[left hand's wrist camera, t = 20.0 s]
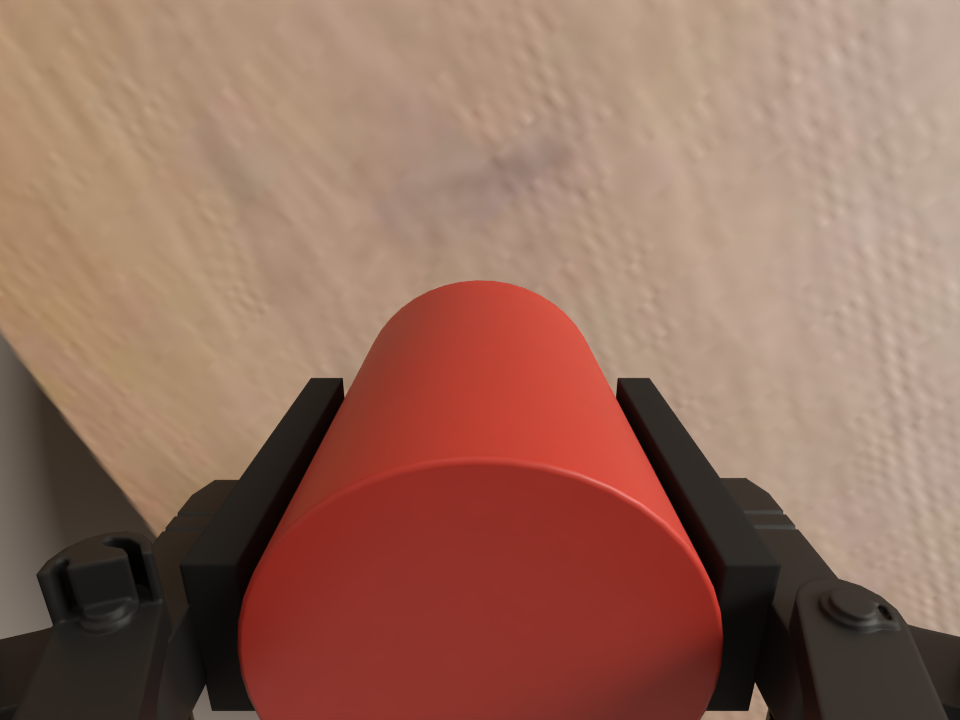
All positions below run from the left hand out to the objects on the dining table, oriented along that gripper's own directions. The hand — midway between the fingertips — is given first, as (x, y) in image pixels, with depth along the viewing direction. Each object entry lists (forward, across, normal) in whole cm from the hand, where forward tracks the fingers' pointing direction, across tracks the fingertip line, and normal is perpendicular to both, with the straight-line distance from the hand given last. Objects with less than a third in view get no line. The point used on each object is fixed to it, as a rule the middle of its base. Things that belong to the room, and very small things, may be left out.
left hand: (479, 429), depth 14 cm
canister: (+2, 0, 0) cm, 2 cm away
